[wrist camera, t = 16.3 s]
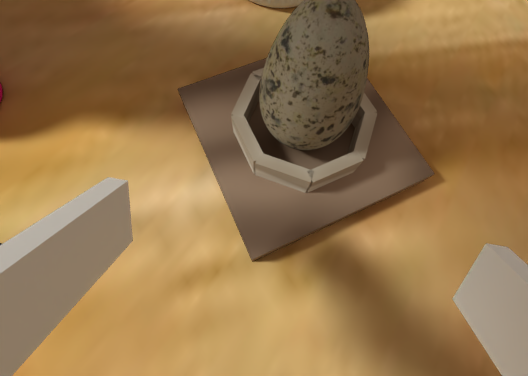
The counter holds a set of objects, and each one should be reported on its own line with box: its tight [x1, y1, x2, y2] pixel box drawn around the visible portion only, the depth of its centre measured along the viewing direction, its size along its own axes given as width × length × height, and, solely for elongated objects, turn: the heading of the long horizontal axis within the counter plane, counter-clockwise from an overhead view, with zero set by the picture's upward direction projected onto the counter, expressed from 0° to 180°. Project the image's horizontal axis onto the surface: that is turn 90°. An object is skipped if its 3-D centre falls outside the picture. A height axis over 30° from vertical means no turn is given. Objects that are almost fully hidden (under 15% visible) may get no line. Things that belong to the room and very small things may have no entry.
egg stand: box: [178, 58, 434, 262], centre depth 20 cm, size 14×14×4 cm
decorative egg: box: [259, 0, 369, 150], centre depth 16 cm, size 6×6×10 cm
